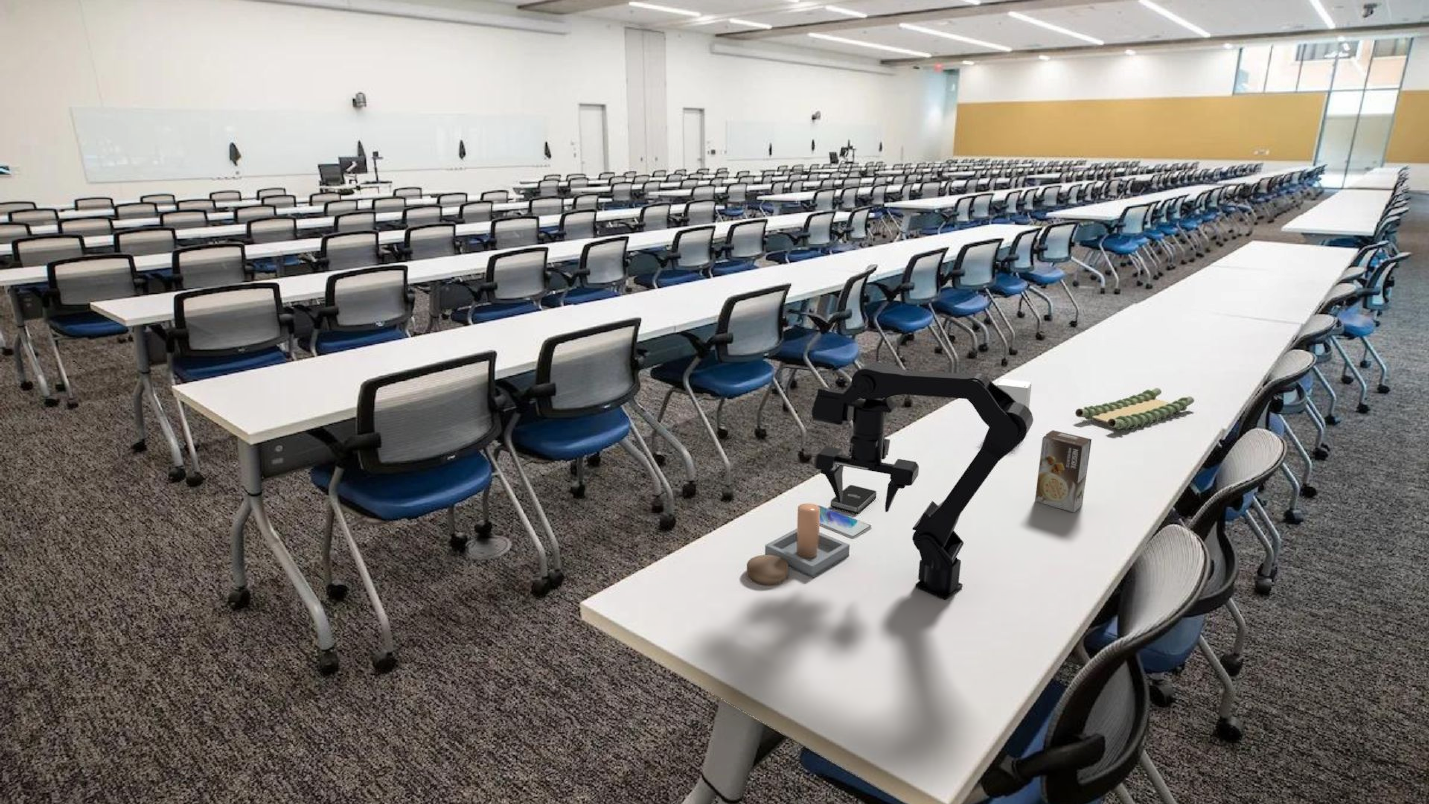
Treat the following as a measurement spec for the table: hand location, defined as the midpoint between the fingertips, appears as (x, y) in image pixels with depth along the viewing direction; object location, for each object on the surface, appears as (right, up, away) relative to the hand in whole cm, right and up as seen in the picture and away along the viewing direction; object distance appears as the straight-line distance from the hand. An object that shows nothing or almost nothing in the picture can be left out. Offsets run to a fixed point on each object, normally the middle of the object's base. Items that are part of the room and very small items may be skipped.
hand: (863, 506), depth 152 cm
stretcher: (+98, +15, +87) cm, 132 cm away
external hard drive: (+4, -4, +32) cm, 32 cm away
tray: (-10, -11, +8) cm, 17 cm away
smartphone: (-2, -7, +22) cm, 24 cm away
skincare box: (+55, +10, +73) cm, 92 cm away
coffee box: (+51, -3, +31) cm, 60 cm away
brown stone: (-18, -13, +1) cm, 23 cm away
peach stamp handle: (-10, -11, +8) cm, 16 cm away
